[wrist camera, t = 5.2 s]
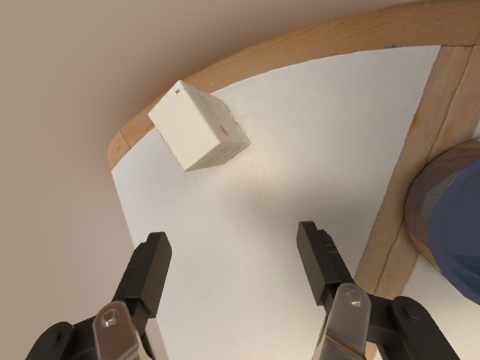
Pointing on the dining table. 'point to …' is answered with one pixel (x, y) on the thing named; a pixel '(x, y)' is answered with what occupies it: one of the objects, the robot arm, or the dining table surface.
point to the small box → (197, 127)
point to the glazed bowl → (449, 216)
